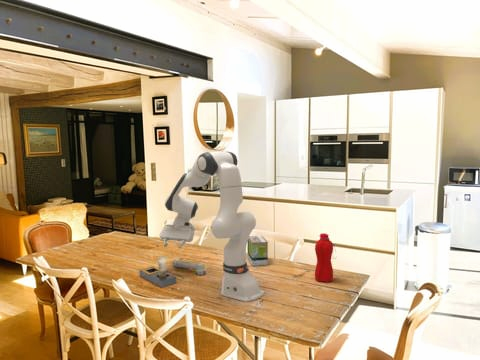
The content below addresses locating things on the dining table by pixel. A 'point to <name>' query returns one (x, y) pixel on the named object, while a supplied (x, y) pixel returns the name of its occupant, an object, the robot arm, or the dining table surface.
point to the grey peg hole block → (157, 277)
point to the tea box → (257, 250)
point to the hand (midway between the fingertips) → (172, 246)
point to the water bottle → (324, 259)
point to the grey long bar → (190, 266)
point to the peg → (162, 266)
